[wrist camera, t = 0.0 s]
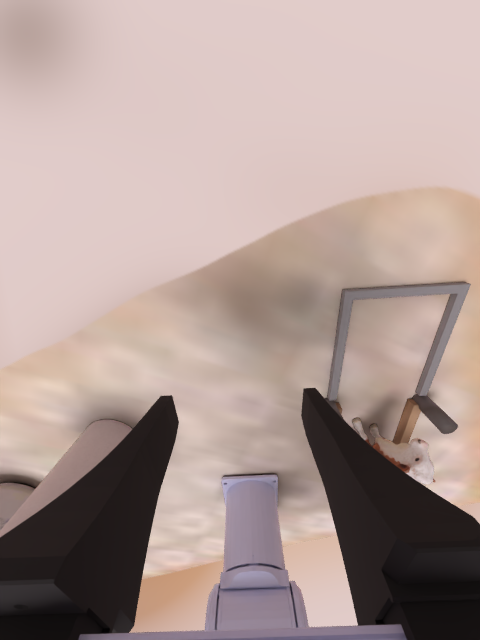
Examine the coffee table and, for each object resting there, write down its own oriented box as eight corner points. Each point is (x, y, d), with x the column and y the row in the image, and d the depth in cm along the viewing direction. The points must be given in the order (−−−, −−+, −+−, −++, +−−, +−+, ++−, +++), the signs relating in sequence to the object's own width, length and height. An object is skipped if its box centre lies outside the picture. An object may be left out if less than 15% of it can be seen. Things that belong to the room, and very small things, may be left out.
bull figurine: (395, 395, 25) (459, 468, 18) (369, 467, 31) (409, 545, 24) (357, 395, 25) (405, 469, 18) (338, 467, 31) (369, 546, 24)
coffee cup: (163, 429, 27) (90, 638, 14) (133, 469, 31) (51, 668, 17) (86, 398, 25) (-90, 611, 12) (63, 444, 29) (-95, 651, 15)
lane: (422, 391, 25) (426, 395, 25) (327, 396, 25) (329, 400, 25) (464, 282, 20) (470, 284, 19) (342, 289, 20) (345, 291, 19)
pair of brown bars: (398, 467, 31) (419, 500, 27) (311, 471, 31) (321, 504, 28) (428, 392, 25) (460, 422, 22) (321, 398, 25) (334, 428, 22)
